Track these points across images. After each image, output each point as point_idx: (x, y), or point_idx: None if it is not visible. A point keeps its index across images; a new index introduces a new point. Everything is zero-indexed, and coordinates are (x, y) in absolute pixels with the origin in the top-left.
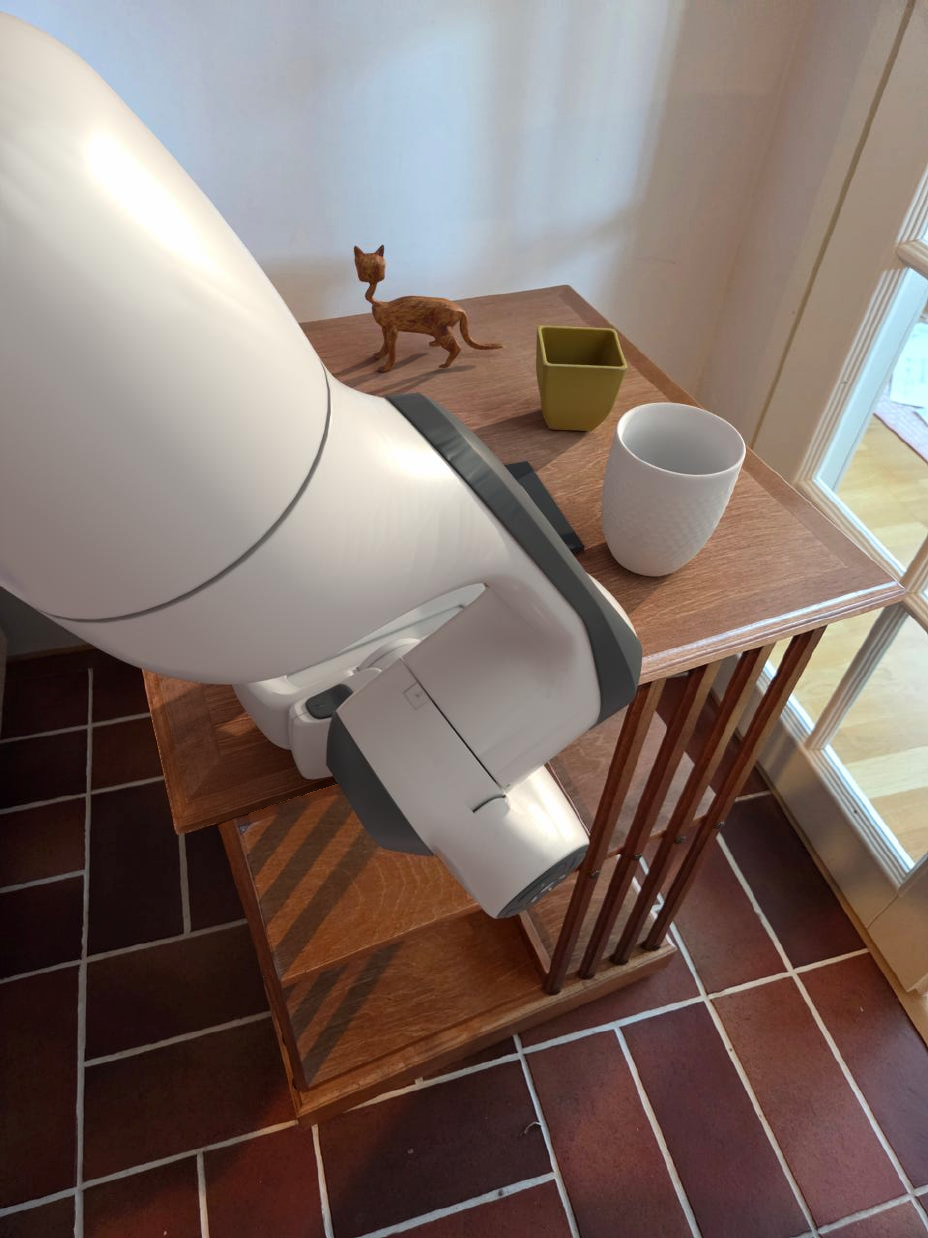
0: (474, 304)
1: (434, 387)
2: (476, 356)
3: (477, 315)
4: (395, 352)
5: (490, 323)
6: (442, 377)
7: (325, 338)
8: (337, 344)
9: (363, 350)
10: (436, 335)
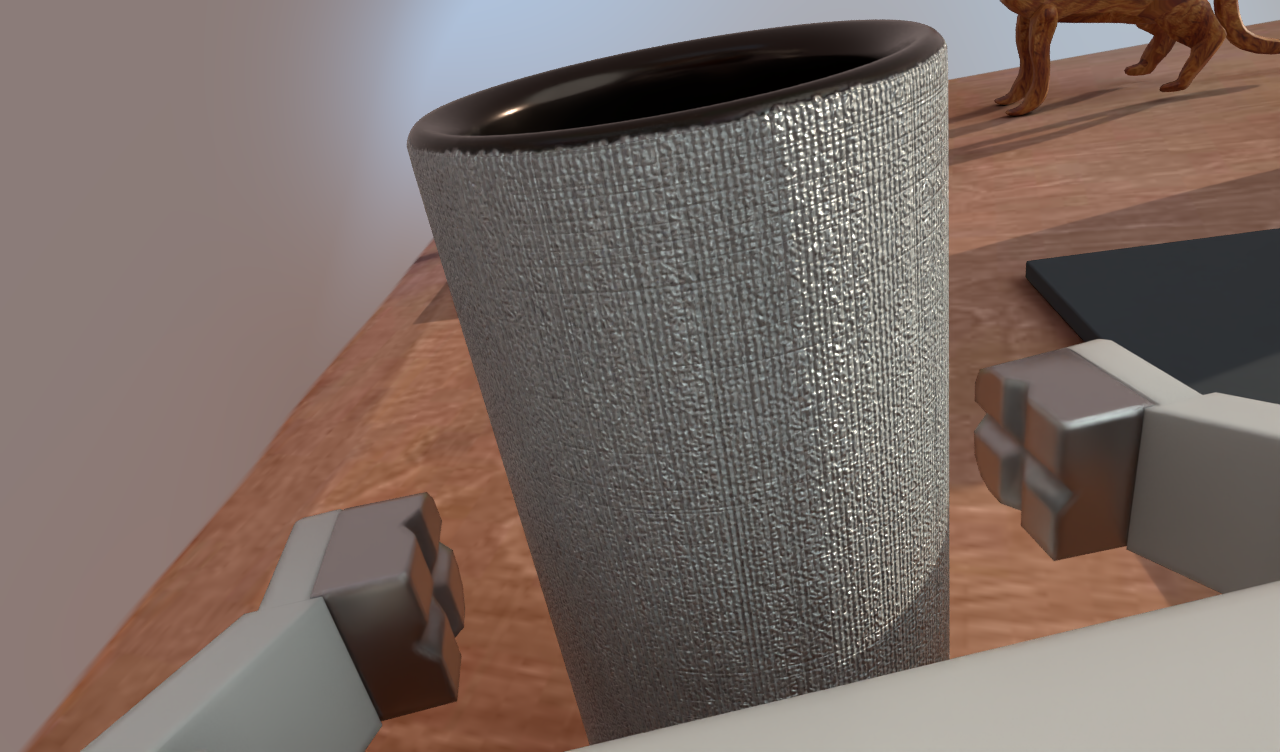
0: None
1: (1155, 119)
2: (1253, 76)
3: (1228, 42)
4: (1049, 66)
5: None
6: (1172, 106)
7: None
8: None
9: (972, 102)
10: (1157, 12)
